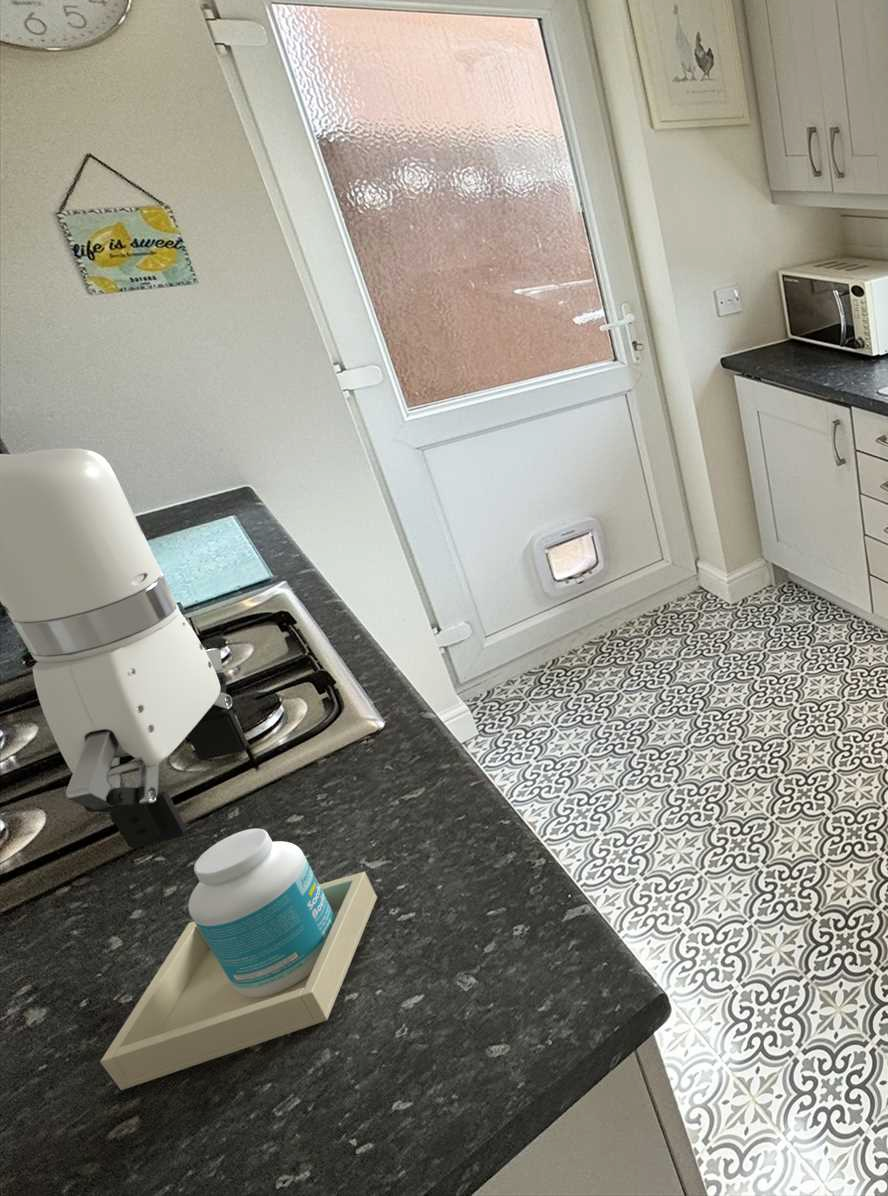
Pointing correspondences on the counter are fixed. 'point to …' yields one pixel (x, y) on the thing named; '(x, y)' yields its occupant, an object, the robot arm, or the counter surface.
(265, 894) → the pill bottle
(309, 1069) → the counter surface
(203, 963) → the tray
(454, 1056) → the counter surface
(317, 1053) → the counter surface
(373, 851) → the counter surface
